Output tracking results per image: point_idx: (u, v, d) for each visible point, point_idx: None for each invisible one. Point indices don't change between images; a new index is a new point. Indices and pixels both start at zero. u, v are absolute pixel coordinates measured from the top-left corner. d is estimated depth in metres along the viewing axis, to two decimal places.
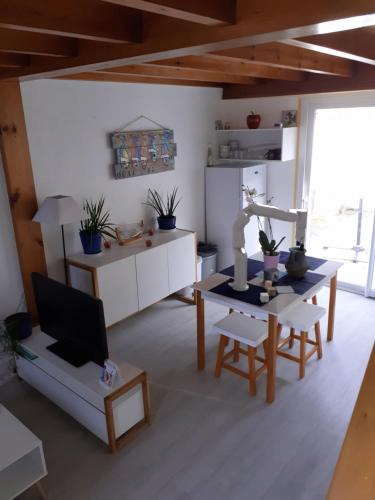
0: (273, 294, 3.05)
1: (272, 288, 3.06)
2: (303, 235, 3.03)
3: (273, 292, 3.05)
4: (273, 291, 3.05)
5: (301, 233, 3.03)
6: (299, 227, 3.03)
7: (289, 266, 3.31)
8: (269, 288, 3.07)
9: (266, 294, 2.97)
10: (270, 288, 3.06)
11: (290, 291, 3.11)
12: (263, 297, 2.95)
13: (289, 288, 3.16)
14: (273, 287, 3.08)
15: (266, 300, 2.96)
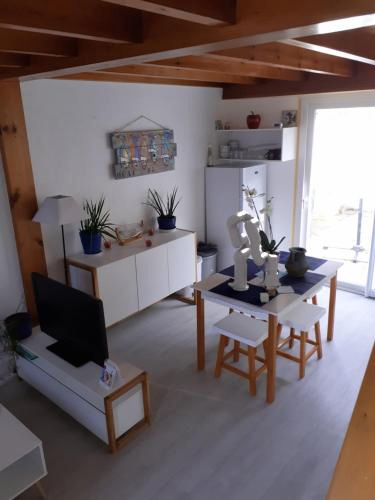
0: (273, 294, 3.05)
1: (272, 288, 3.06)
2: None
3: (273, 292, 3.05)
4: (273, 291, 3.05)
5: None
6: (276, 272, 3.00)
7: (289, 266, 3.31)
8: (269, 288, 3.06)
9: (266, 294, 2.97)
10: (270, 288, 3.06)
11: (290, 291, 3.11)
12: (263, 297, 2.95)
13: (289, 288, 3.16)
14: (273, 287, 3.08)
15: (266, 300, 2.96)
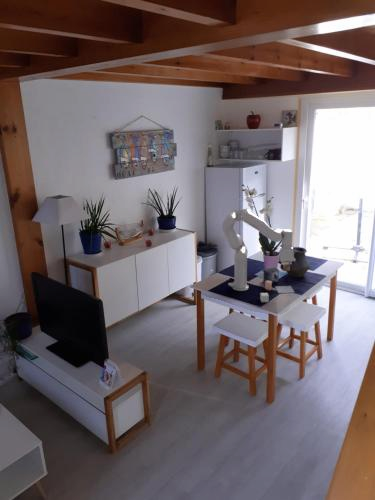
0: (288, 269, 3.07)
1: (287, 263, 3.08)
2: None
3: (288, 267, 3.06)
4: (288, 266, 3.06)
5: None
6: (291, 247, 3.02)
7: None
8: (284, 263, 3.08)
9: (266, 294, 2.97)
10: (285, 263, 3.08)
11: (290, 291, 3.11)
12: (263, 297, 2.95)
13: (289, 288, 3.16)
14: (288, 262, 3.09)
15: (266, 300, 2.96)
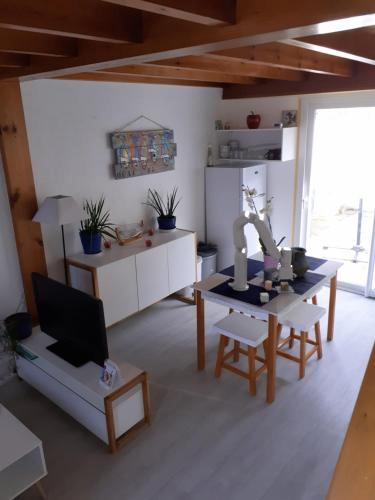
0: (286, 289, 3.12)
1: (285, 283, 3.13)
2: None
3: (287, 287, 3.11)
4: (287, 286, 3.11)
5: None
6: (290, 265, 3.06)
7: None
8: (283, 283, 3.13)
9: (266, 294, 2.97)
10: (284, 283, 3.13)
11: (290, 291, 3.11)
12: (263, 297, 2.95)
13: (289, 288, 3.16)
14: (286, 282, 3.15)
15: (266, 300, 2.96)
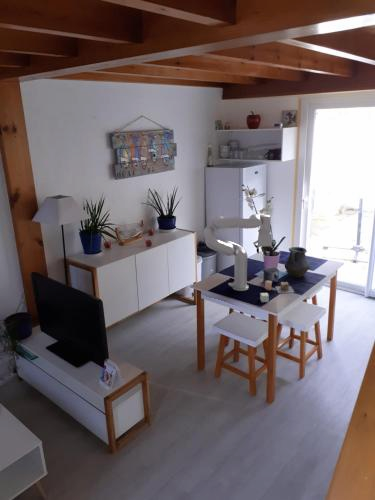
0: (286, 289, 3.12)
1: (285, 283, 3.13)
2: None
3: (287, 287, 3.11)
4: (287, 286, 3.11)
5: None
6: (269, 232, 3.05)
7: (289, 266, 3.31)
8: (283, 283, 3.13)
9: (266, 294, 2.97)
10: (284, 283, 3.13)
11: (290, 291, 3.11)
12: (263, 297, 2.95)
13: (289, 288, 3.16)
14: (286, 282, 3.15)
15: (266, 300, 2.96)
